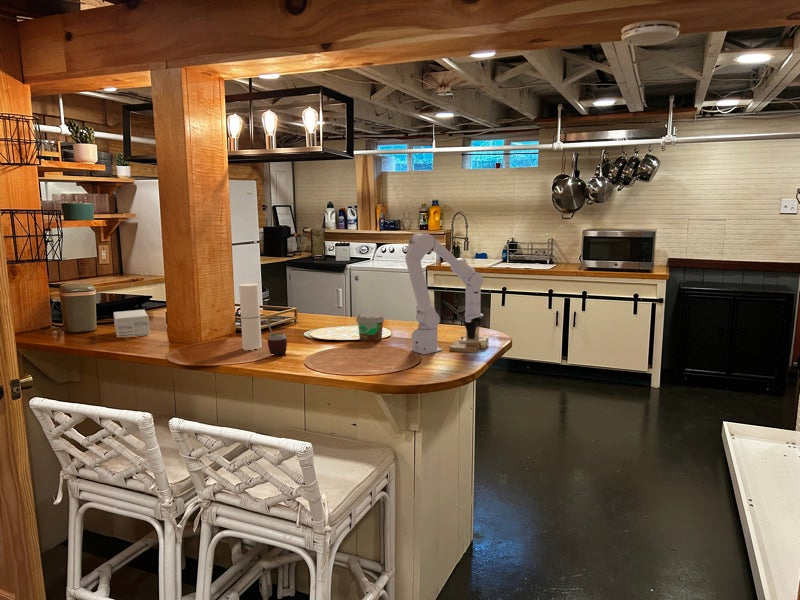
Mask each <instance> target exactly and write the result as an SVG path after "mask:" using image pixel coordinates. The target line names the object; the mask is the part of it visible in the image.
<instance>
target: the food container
mask: <svg viewBox="0 0 800 600" xmlns="http://www.w3.org/2000/svg"><path fill="white" fill-rule="evenodd" d="M355 321H356V323H357V326H358V335H359V336H358V337H359V340H360V339H361V341H360V342H362V343H378V342H382V339H383V327H384V326H383V325H384V323H385V318H384V317H383V316H381V317H374V316H360V314H358V315H357V316H356V320H355Z"/></svg>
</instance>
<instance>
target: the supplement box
mask: <svg viewBox="0 0 800 600" xmlns="http://www.w3.org/2000/svg"><path fill="white" fill-rule="evenodd" d="M149 317H150V316H149V314H148V313H147V312H146V309H135V310H124V311H114V312H113V322H114V330H115V335H117V336H116V338H117V337H131V336H144V335H150V336H151V330H150V320H149Z"/></svg>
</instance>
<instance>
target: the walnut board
mask: <svg viewBox="0 0 800 600" xmlns="http://www.w3.org/2000/svg"><path fill="white" fill-rule="evenodd" d="M462 337H463V338H466V335H463V336H462ZM484 337H485V336H479V339H483V338H484ZM480 349H482V348H481V345H480V344H468V343H459V339H457V340H456V341H455V342H454V343H453V344H451V345H450V346H449V351H450V352H461V353H470V352H471V353H473V354H475V353H477V352H478V351H479V350H480Z"/></svg>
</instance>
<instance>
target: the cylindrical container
mask: <svg viewBox="0 0 800 600" xmlns="http://www.w3.org/2000/svg"><path fill="white" fill-rule="evenodd" d="M238 285H239V287H238V290H239V305H240V323H241V325H240V326H241V339H242V341H241V343H242V350H243V349H244V350H243V351H248V350H251V351H255V350H254V349H258V350H260V349H259V348H261V347H262V345H263V344H262V330H261V310H260V308H261V306H260V289H259V288H260V287H259V283H242V284H238ZM262 348H263V347H262ZM262 348H261V349H262Z"/></svg>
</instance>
